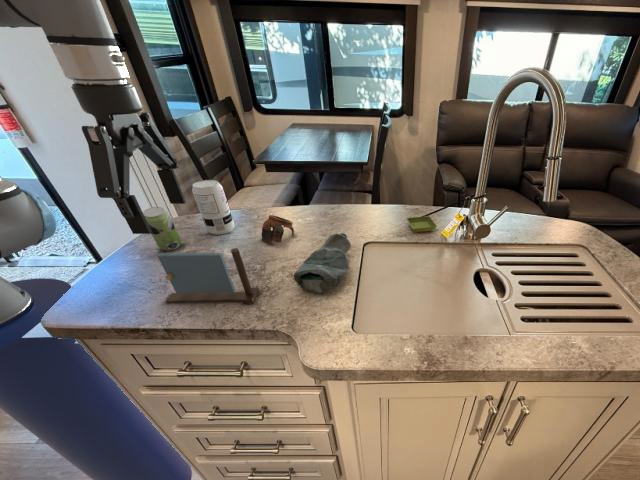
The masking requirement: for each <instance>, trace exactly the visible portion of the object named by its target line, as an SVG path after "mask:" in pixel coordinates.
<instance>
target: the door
mask: <svg viewBox="0 0 640 480" xmlns="http://www.w3.org/2000/svg"><path fill="white" fill-rule="evenodd" d="M157 258H158V261H159V262H160V264H161V266H162V268H163V270H164V272H165V274H166V275H165V279H166V280H168V281H169V282H170V285H171V286H172V288H173V290H174V293H221V292H236V289H235V286H234V283H233V280H232V278H231V277H232V276H231V275H230V272H229V270H228V267H227V263H226V261H225V258H224V256H223V253H222V252H191V253H189V252H188V253H187V252H186V253H184V252H183V253H181V252H179V253H178V252H177V253H159V254H157Z"/></svg>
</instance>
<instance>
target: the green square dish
mask: <svg viewBox="0 0 640 480" xmlns="http://www.w3.org/2000/svg"><path fill="white" fill-rule="evenodd" d="M406 221H407V223H408V224H409V226H410V228H411V229H412V231H413V232H414V233H420V232H421V233H422V232H432V231H435V229H437V227H438V225H437V224H436V223H435V221H434V219H433V218H432V217H431V216H430V215H425V216H413V217H411V216H409V217H406Z"/></svg>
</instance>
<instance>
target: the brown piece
mask: <svg viewBox="0 0 640 480" xmlns="http://www.w3.org/2000/svg"><path fill="white" fill-rule="evenodd" d="M293 224H294V223H293V222H292V221H291V220H289V219H287V218H284V217H281V216H277V215H273V214H269V215H268V218H267V219H266V220H265V221H264V222H263V223H262V226H261V227H262V228H261V241H262V242H263V243H265V244H268V245H273V242H275V243H281V242H282V240H283V235H284V232H285V230H284V229H285V228H287V229H289V230H290V231H291V236H292V237H294V236H295V229H294V227H293Z"/></svg>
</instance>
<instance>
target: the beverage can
mask: <svg viewBox="0 0 640 480" xmlns="http://www.w3.org/2000/svg"><path fill="white" fill-rule="evenodd" d="M142 212H143V214H144V216H145V218H146V220H147V222H148V224H149V226H150V229H151V231H152V232H151V233H150V234H151V236H152V238H153V239H154V241H155V243H156V245H157V247H158V248H159V249H160V250H163V251H173V250H176V249H178V248H179V247H180V246H181V245H182V243H183V241H182V239H181V236H180V234H179V232H178V230H177V229H176V226H175V224H174V222H173V220H172V217H171V216H170V213H169V212H168V211H167V210H165V209H164V208H163V207H160V206H153V207H149V208H146V209H145V210H144V211H142Z"/></svg>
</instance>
